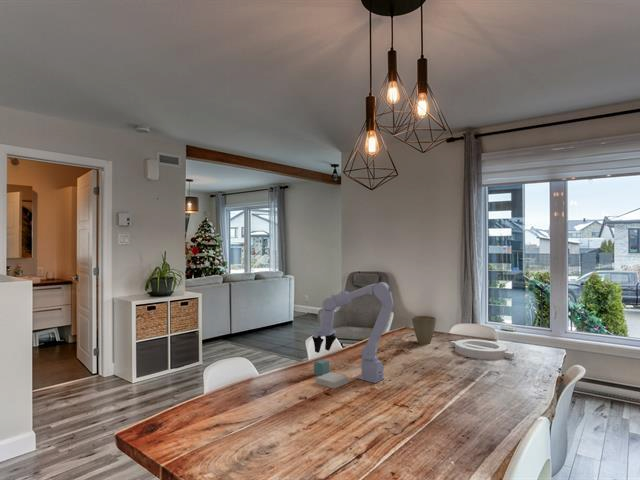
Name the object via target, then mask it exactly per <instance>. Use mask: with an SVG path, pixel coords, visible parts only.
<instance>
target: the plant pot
mask: <svg viewBox="0 0 640 480" xmlns="http://www.w3.org/2000/svg"><path fill="white" fill-rule="evenodd" d="M411 320H412V326H413V330H414V334H415V337H416V340H417V343H418V344H420V343H421V344H422V345H430V344H431V342H432V339H433V337H434V336H433V335H434V333H435V329H436V323H437V317H435V316H432V315H431V316H430V315H413V316H412V317H411Z"/></svg>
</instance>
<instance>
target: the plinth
mask: <svg viewBox="0 0 640 480" xmlns="http://www.w3.org/2000/svg"><path fill="white" fill-rule="evenodd" d="M348 383H349V376H346V375H342V374H338V373H334V372H330V371H329V373H327V374H324V375H322V376H317V377H315V384H317V385H321V386H324V387H327V388H331V389H337V388H339V387H341V386H344V385H346V384H348Z"/></svg>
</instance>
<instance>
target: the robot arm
mask: <svg viewBox="0 0 640 480" xmlns="http://www.w3.org/2000/svg"><path fill="white" fill-rule="evenodd" d="M364 295H369V296H370V295H371V296H373V295H374V296H375V297H376V298H377V299H378V300H379V302H380V305H381V307H380V308H381V309H380V310H379V313H378V316H377V318H376V320H375V323H374V326H373V328H372V331H371V333H370V336H369V338H368V340H367V341H366V343H365V345H364V347H362V349H361V356H362V357H361V375H360V376H357V379H358V380H362V381H366V382H370V383H374V384H376V383H378V382H380V381H382V380H384V379H385V377H384V363H383V361H381V360H379V359H378V355H377V353H378V352H379V347H378V346H379V343H380V340H381V338H382V335H383V332H384V330H385V328H386V324H387V322H388V319H389V318H390V314H391V313H392V309H393V308H394V304H395V303H394V298H393V294H392V289H391V287H390V285H389V284H388V283H387V282H385V281H380V282H378V283H371V284H368V285H365V286H363V287H360V288H358V289H355V290H353V291H346V290H341V291H340V292H339V293H337V294H335V295H334V294H332V295H331V296H330V297H326V298H325V299H324V300H323V301H322V307H323V308H322V313H321V318H320V319H321V320H320V323H319V324H320V325H319V329H317V331H316V332H313V335H312V336H311V338H312V342H313V345H314V352H316V353H317V354H318V353H320V352H321V348H322V347H321V346H322V344H323V342H324V338H322V337H325V347H324V349H325V350H326V351H331V350H330V349H331V348H332V345H333V344H334V342H335V340H336V339H337V336H336V334H337V331H336V330H334V329H333V325H334V324H333V323H334V319H335V311H336V308H340V307H342V306H345V305H348V304H350V303H351V302H352V300H353V299H355V298H359V297H362V296H364Z"/></svg>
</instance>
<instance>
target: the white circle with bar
mask: <svg viewBox="0 0 640 480" xmlns="http://www.w3.org/2000/svg"><path fill="white" fill-rule="evenodd" d="M450 347H454V351H455V353H456V354H459V355H461V356H464V357H468V358H471V359H480V360H502V358H503V359H505V357H506V358H508V359H513V358H515V353H514V352H513V351H508V346H507V345H505V344H503V343H500V342H496V341H492V340H491V341H490V340H485V339H473V338H472V339H459V340H458V339H457V340H452V341H450Z"/></svg>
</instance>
